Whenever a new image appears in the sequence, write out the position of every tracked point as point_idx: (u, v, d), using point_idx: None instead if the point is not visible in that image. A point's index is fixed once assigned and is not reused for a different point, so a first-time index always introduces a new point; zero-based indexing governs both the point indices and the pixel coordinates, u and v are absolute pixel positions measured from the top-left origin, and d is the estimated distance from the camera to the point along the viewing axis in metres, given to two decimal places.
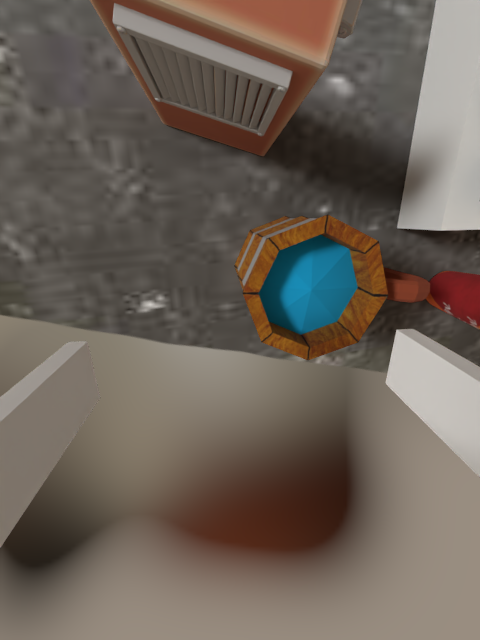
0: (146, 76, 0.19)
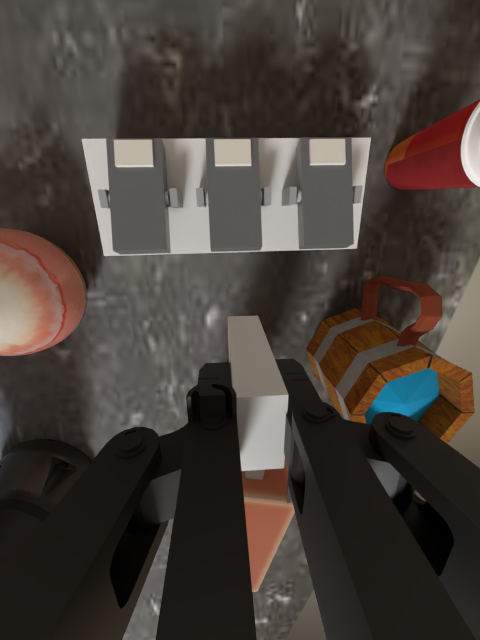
0: None
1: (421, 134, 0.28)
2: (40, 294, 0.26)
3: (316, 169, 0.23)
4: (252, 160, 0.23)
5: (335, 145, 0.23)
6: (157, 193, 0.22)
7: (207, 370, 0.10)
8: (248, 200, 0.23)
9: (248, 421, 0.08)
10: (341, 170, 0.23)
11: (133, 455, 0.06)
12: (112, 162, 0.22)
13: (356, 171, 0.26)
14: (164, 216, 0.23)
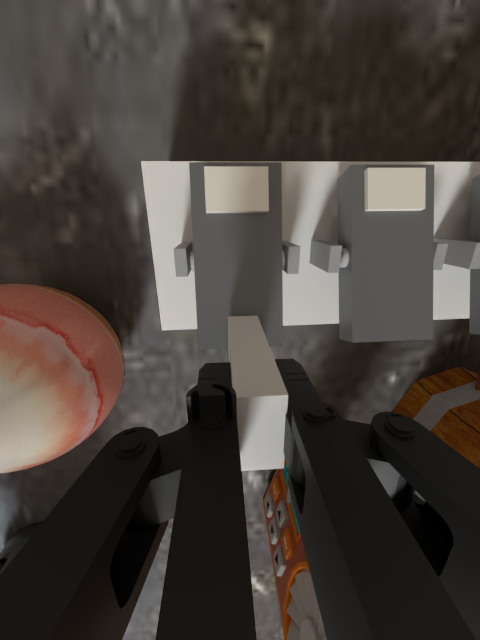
0: None
1: None
2: (69, 392, 0.17)
3: None
4: None
5: None
6: (271, 257, 0.14)
7: (207, 370, 0.10)
8: (414, 266, 0.14)
9: (248, 421, 0.08)
10: None
11: (133, 455, 0.06)
12: (199, 204, 0.13)
13: None
14: (280, 294, 0.14)
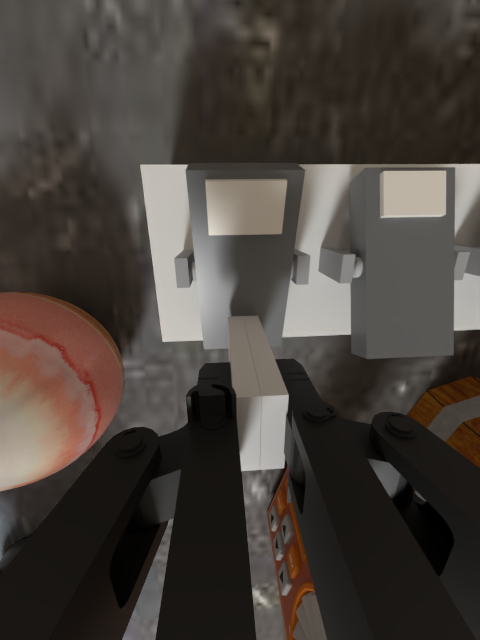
0: None
1: None
2: (64, 407, 0.16)
3: None
4: None
5: None
6: (279, 276, 0.13)
7: (207, 370, 0.10)
8: (433, 276, 0.13)
9: (248, 421, 0.08)
10: None
11: (133, 455, 0.06)
12: (200, 222, 0.11)
13: None
14: (284, 307, 0.14)
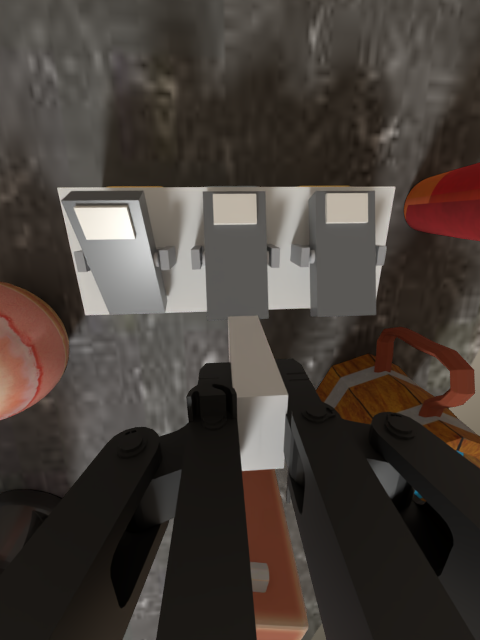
0: None
1: (450, 178, 0.24)
2: (9, 362, 0.22)
3: (333, 228, 0.20)
4: (258, 218, 0.19)
5: (356, 201, 0.19)
6: (145, 265, 0.19)
7: (207, 370, 0.10)
8: (252, 264, 0.19)
9: (248, 420, 0.08)
10: (362, 229, 0.20)
11: (133, 455, 0.06)
12: (80, 231, 0.17)
13: (377, 223, 0.23)
14: (157, 286, 0.20)
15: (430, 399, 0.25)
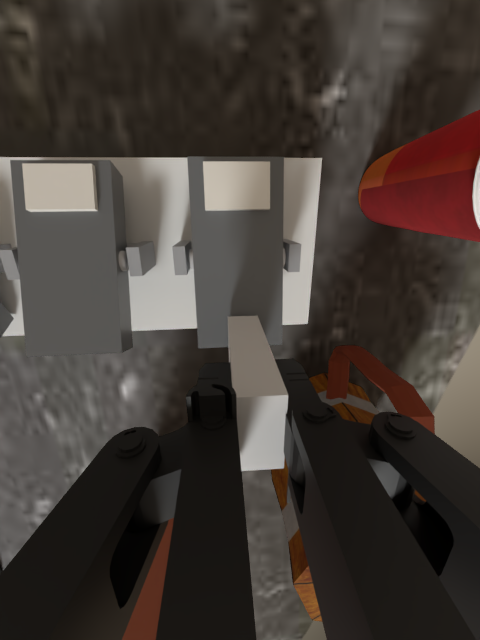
0: None
1: (407, 150, 0.18)
2: None
3: (218, 218, 0.13)
4: (99, 201, 0.13)
5: (251, 174, 0.12)
6: None
7: (207, 370, 0.10)
8: (94, 272, 0.13)
9: (248, 421, 0.08)
10: (263, 220, 0.13)
11: (133, 455, 0.06)
12: None
13: (301, 211, 0.16)
14: None
15: None
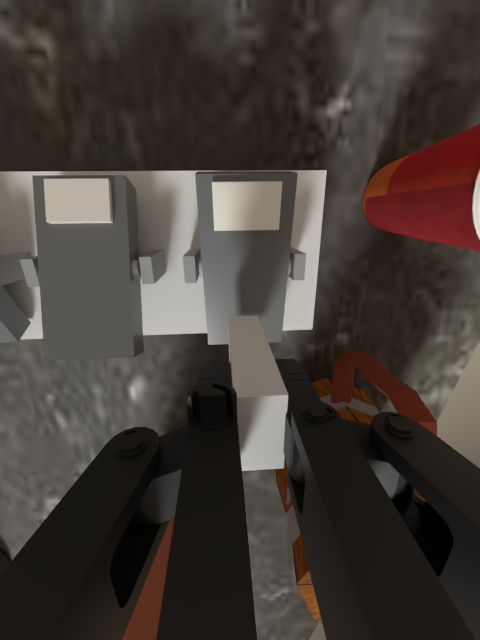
0: None
1: (411, 161, 0.18)
2: None
3: (226, 236, 0.13)
4: (115, 213, 0.13)
5: (262, 196, 0.12)
6: None
7: (207, 370, 0.10)
8: (109, 280, 0.14)
9: (248, 421, 0.08)
10: (271, 238, 0.13)
11: (133, 455, 0.06)
12: None
13: (306, 221, 0.17)
14: None
15: None
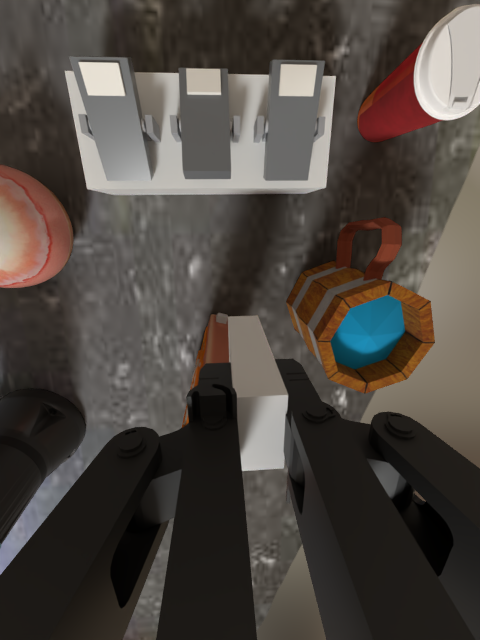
0: None
1: (386, 78, 0.29)
2: (26, 221, 0.28)
3: (284, 101, 0.24)
4: (222, 89, 0.24)
5: (306, 73, 0.23)
6: (134, 126, 0.24)
7: (207, 370, 0.10)
8: (218, 127, 0.25)
9: (248, 421, 0.08)
10: (308, 103, 0.24)
11: (133, 455, 0.06)
12: (83, 88, 0.22)
13: (323, 109, 0.28)
14: (144, 150, 0.26)
15: (370, 262, 0.30)
